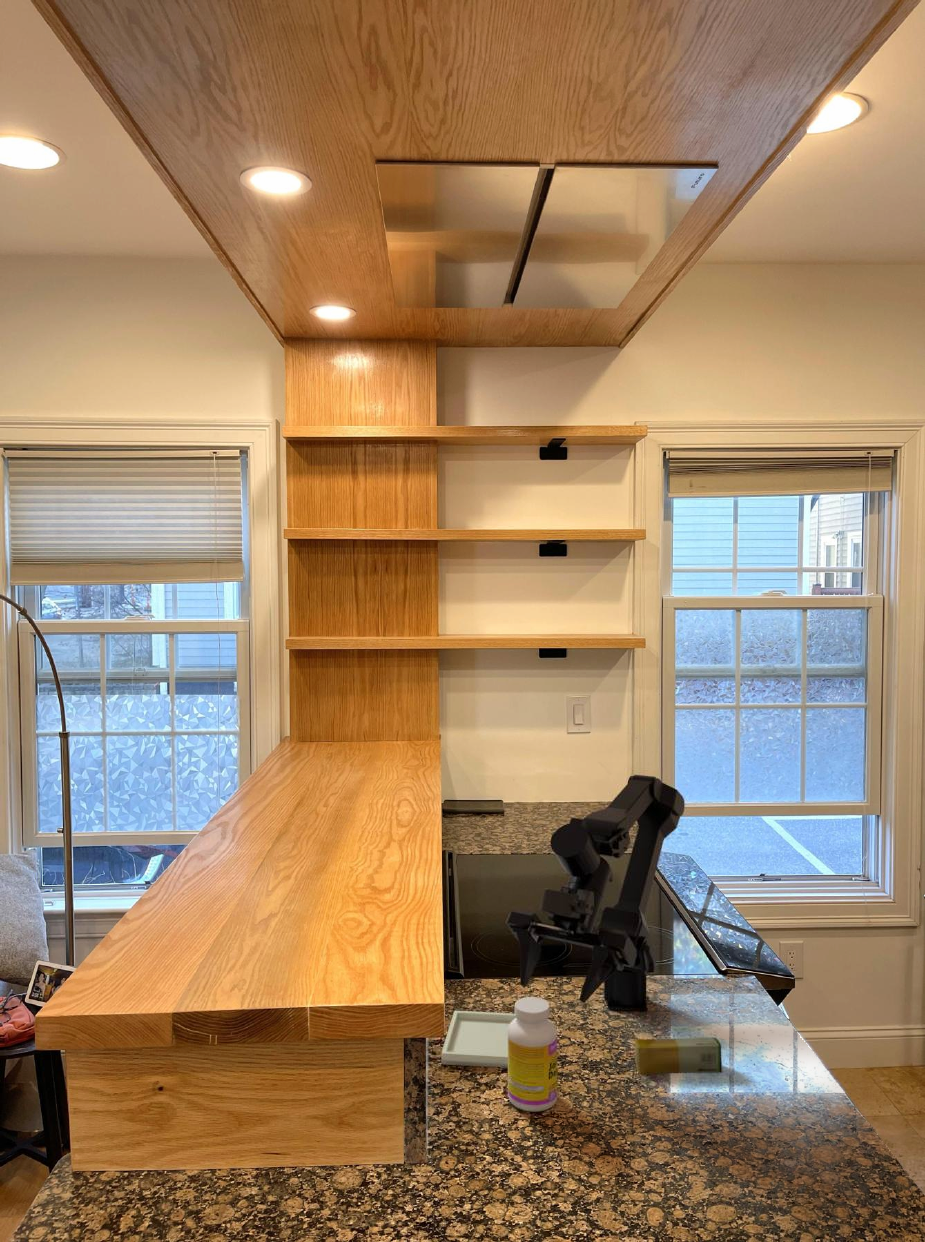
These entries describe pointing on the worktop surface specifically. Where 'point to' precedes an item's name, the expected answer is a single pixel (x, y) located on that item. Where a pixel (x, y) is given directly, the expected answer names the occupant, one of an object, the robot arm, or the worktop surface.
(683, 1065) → the medication box
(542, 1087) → the supplement bottle
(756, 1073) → the worktop surface
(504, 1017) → the tray
